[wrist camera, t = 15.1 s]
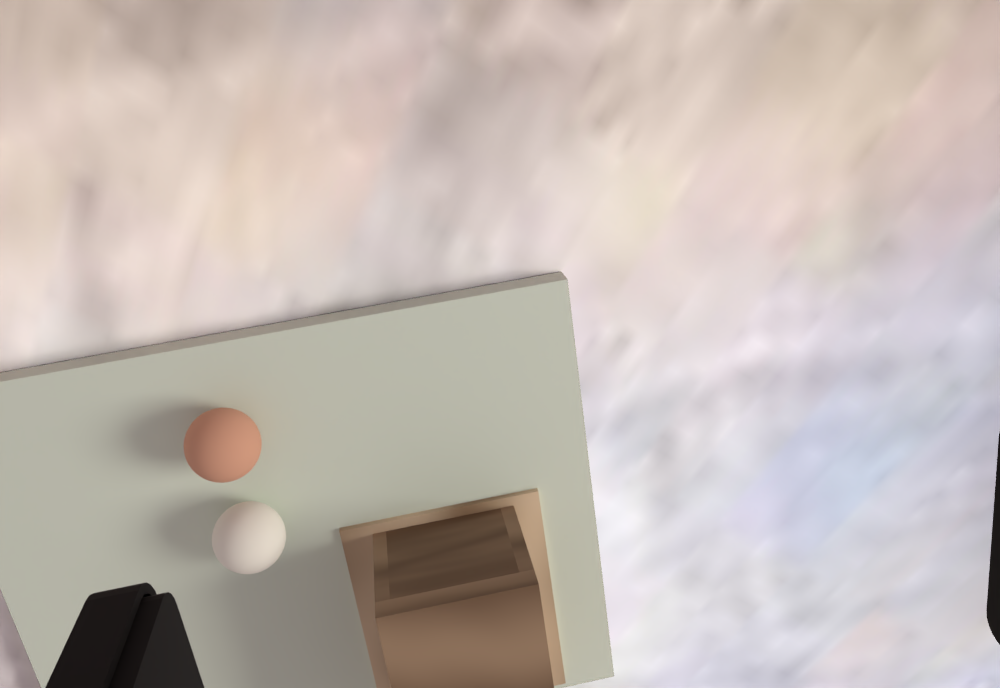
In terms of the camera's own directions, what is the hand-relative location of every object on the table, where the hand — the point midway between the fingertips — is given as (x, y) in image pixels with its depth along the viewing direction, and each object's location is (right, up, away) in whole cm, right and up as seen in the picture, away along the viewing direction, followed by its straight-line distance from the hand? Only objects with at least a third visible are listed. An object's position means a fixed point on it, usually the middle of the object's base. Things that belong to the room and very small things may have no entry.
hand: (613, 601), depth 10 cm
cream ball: (-12, -5, +29) cm, 32 cm away
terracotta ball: (-13, -1, +27) cm, 30 cm away
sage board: (-10, -6, +31) cm, 33 cm away
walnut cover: (-3, -10, +32) cm, 33 cm away
